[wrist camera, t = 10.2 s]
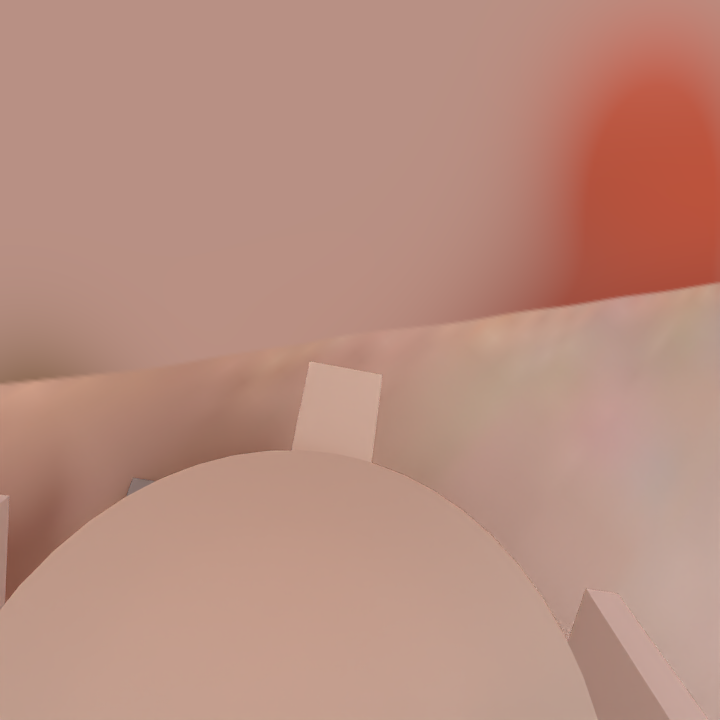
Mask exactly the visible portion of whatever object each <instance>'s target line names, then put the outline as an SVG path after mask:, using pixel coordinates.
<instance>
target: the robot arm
mask: <svg viewBox="0 0 720 720" xmlns="http://www.w3.org/2000/svg"><path fill="white" fill-rule="evenodd" d="M8 519H9V496H7V495H1V494H0V609H1V608H2V607H3V606H4V604H5V593H6V568H7V544H8ZM568 644H569V646H570V648H571V650H572V653H573V655H574V657H575V659H576V661H577V664H578V666H579V668H580V670H581V672H582V675H583V677H584V680H585V683H586V686H587V689H588V692H589V695H590V698H591V701H592V704H593V707H594V709H595V712H596V715H597V718H598V720H708V718H707V717H706V716H705V714H704V713H703V711H702V710H701V709H700V707H699V706H698V704H697V703H696V702H695V700H694V699H693V697H692V696H691V695H690V693H689V692H688V690H687V689H686V688H685V686H684V685H683V683H682V682H681V681H680V679H679V678H678V677H677V675H676V674H675V672H674V671H673V670H672V668H671V667H670V665H669V664H668V663H667V661H666V660H665V658H664V657H663V656H662V654H661V653H660V651H659V650H658V649H657V647H656V646H655V644H654V643H653V642H652V640H651V639H650V637H649V636H648V635H647V633H646V632H645V630H644V629H643V628H642V626H641V625H640V624H639V622H638V621H637V619H636V618H635V617H634V615H633V614H632V612H631V611H630V610H629V608H628V607H627V605H626V604H625V603H624V601H623V600H622V598H621V597H620V596H619V594H618V593H613V592H606V591H600V590H594V589H588V588H586V589H585V592H584V595H583V598H582V601H581V604H580V607H579V610H578V613H577V616H576V619H575V622H574V625H573V628H572V631H571V634H570V637H569V640H568Z"/></svg>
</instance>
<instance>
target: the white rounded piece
mask: <svg viewBox="0 0 720 720" xmlns="http://www.w3.org/2000/svg"><path fill="white" fill-rule="evenodd" d="M382 377H383V375H382V374H377V373H371V372H366V371H361V370H355V369H350V368H345V367H339V366H334V365H329V364H323V363H318V362H313V361H310V362H309V367H308V372H307V376H306V381H305V386H304V391H303V395H302V400H301V405H300V410H299V415H298V419H297V424H296V429H295V434H294V438H293V443H292V448H291V450H272V451H261V452H254V453H246V454H239V455H232V456H228V457H224V458H220V459H216V460H213V461H209V462H205V463H201V464H197V465H194V466H192V467H189V468H187V469H184V470H181V471H179V472H176V473H174V474H171V475H168V476H166V477H163V478H161V479H159V480H157V481H155V482H153V483H151V484H149V485H147V486H145V487H143V488H142V489H140V490H138V491H136V492H134V493H132V494H130V495H128V496H126V497H124V498H123V499H121V500H120V501H118V502H117V503H115V504H114V505H112V506H111V507H109V508H108V509H106V510H105V511H103V512H102V513H100V514H99V515H97V516H96V517H94V518H93V519H91V520H90V521H88V522H87V523H86V524H85V525H84V526H82V527H81V528H80V529H79V530H78V531H76V532H75V533H74V534H73V535H72V536H70V537H69V538H68V539H67V540H66V541H65V542H63V543H62V544H61V545H60V546H59V547H57V548H56V549H55V550H54V551H53V552H52V553H51V554H50V555H49V556H48V557H47V558H46V559H45V560H44V561H43V562H42V563H41V564H40V565H39V566H38V567H37V568H36V569H35V570H34V571H33V572H32V573H31V574H30V575H29V576H28V577H27V578H26V579H25V580H24V581H23V582H22V584H21V585H20V586H19V587H18V588H17V589H16V590H15V592H14V593H13V594H12V595H11V597H10V598H9V599H8V601H7V602H6V603H5V604H4V606H3V607H2V608H1V609H0V720H598V718H597V715H596V712H595V709H594V707H593V704H592V701H591V698H590V695H589V692H588V689H587V686H586V683H585V680H584V677H583V675H582V672H581V670H580V668H579V666H578V664H577V661H576V659H575V657H574V655H573V653H572V650H571V648H570V646H569V644H568V642H567V639H566V637H565V635H564V633H563V631H562V630H561V628H560V626H559V625H558V623H557V621H556V619H555V618H554V616H553V614H552V613H551V611H550V609H549V607H548V606H547V604H546V602H545V601H544V599H543V597H542V596H541V594H540V593H539V592H538V590H537V589H536V588H535V586H534V585H533V584H532V582H531V581H530V579H529V578H528V577H527V575H526V574H525V573H524V571H523V570H522V569H521V567H520V566H519V564H518V563H517V562H516V561H515V560H514V559H513V558H512V557H511V556H510V555H509V553H508V552H507V551H506V550H505V549H504V548H503V547H502V546H501V545H500V544H499V543H498V541H497V540H496V539H495V538H494V537H493V536H492V535H491V534H490V533H489V532H487V531H486V530H485V529H484V528H483V527H482V526H481V525H479V524H478V523H477V522H476V521H475V520H474V519H473V518H471V517H470V516H469V515H468V514H467V513H466V512H465V511H463V510H462V509H460V508H459V507H457V506H456V505H455V504H453V503H452V502H450V501H449V500H447V499H446V498H444V497H443V496H441V495H440V494H439V493H437V492H436V491H434V490H432V489H430V488H428V487H426V486H425V485H423V484H421V483H419V482H417V481H415V480H413V479H411V478H409V477H407V476H406V475H404V474H401V473H398V472H396V471H393V470H390V469H388V468H385V467H383V466H380V465H377V464H375V463H372V456H373V449H374V441H375V433H376V425H377V417H378V409H379V401H380V393H381V385H382Z"/></svg>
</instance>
